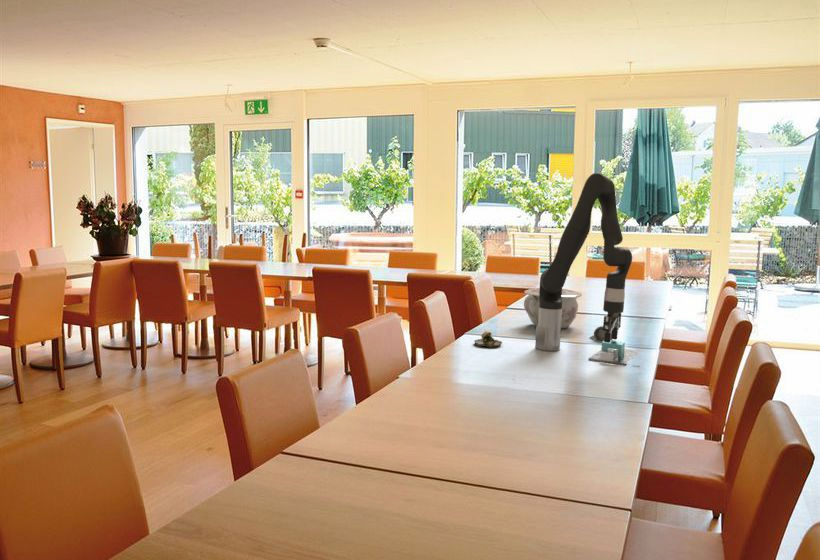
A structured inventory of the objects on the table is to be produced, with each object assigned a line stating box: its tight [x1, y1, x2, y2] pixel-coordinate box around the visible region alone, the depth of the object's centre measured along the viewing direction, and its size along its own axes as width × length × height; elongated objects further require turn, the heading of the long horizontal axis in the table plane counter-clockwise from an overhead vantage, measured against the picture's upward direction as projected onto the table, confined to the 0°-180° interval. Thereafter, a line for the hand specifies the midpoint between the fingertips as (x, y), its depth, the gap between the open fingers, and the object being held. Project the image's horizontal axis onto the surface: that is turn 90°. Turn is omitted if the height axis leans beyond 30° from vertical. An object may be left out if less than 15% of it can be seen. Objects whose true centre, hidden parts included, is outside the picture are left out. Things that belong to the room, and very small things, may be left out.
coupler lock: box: [600, 339, 626, 360], centre depth 273 cm, size 5×8×6 cm, turn 59°
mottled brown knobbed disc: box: [473, 330, 503, 348], centre depth 293 cm, size 12×12×8 cm
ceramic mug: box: [589, 325, 613, 342], centre depth 307 cm, size 10×8×7 cm
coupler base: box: [588, 348, 642, 367], centre depth 278 cm, size 26×14×4 cm, turn 149°
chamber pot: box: [523, 287, 583, 330], centre depth 337 cm, size 28×28×21 cm
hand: (610, 340), depth 271 cm, fingers open, 8 cm apart
